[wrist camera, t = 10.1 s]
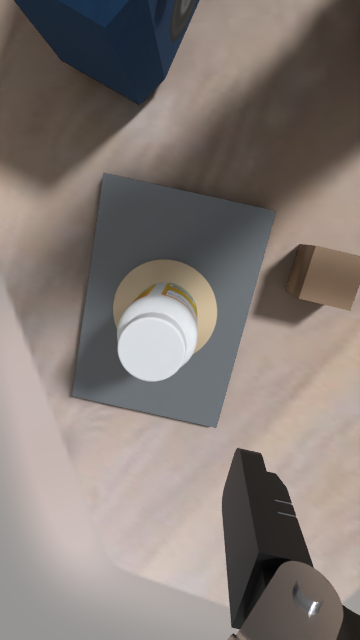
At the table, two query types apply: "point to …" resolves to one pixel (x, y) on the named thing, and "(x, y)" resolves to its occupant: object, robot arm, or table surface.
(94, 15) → the radio
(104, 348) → the slate board
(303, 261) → the walnut block
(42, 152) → the table surface
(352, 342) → the table surface
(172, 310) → the supplement bottle
